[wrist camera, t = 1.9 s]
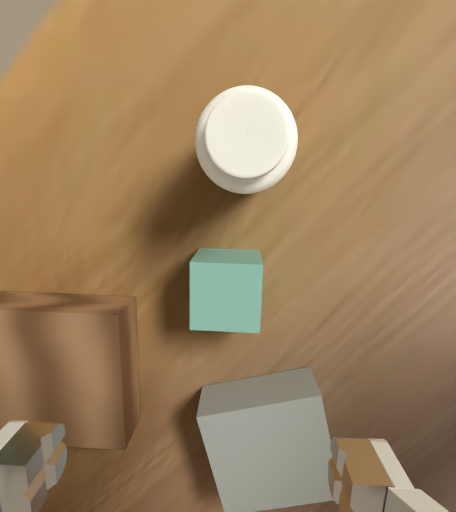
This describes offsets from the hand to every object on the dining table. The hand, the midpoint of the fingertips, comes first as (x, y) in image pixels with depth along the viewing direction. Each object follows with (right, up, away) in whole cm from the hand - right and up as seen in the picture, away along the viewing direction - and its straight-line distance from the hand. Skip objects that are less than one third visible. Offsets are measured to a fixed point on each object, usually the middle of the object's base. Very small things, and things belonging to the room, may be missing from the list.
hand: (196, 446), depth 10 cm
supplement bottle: (+2, +14, +15) cm, 21 cm away
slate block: (+5, -10, +20) cm, 23 cm away
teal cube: (+1, +4, +17) cm, 18 cm away
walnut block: (-13, -3, +20) cm, 24 cm away
